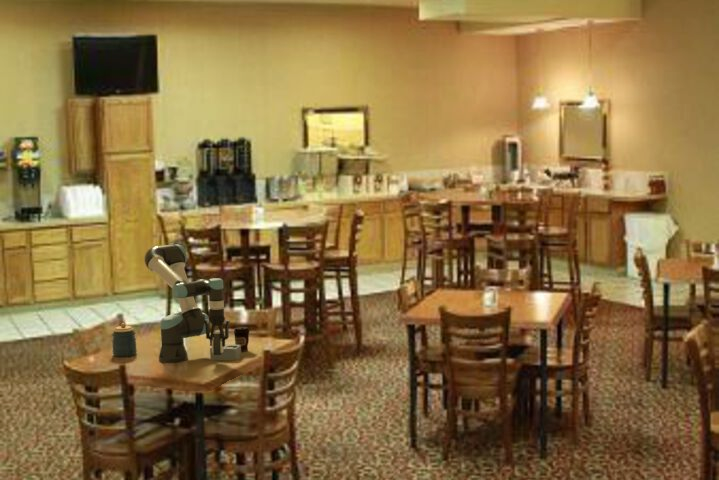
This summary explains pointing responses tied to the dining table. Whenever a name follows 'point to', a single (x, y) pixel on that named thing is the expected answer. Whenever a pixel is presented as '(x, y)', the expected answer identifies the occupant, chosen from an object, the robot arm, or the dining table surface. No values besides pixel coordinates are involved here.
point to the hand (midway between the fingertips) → (217, 352)
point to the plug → (217, 342)
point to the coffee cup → (242, 337)
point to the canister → (124, 341)
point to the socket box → (227, 353)
